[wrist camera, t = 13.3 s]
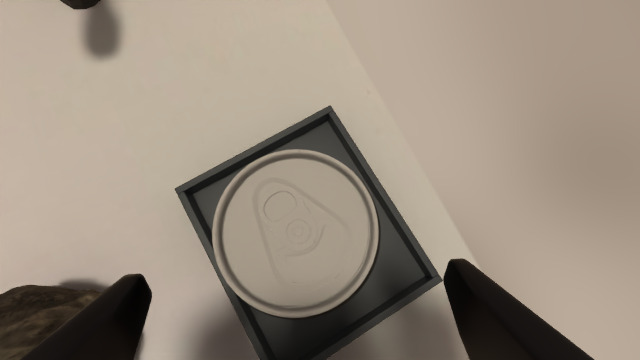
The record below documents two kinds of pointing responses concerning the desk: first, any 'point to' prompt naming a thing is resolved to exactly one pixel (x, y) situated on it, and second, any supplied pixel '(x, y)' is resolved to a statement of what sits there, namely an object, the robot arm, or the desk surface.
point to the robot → (80, 3)
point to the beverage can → (296, 234)
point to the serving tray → (380, 289)
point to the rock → (36, 315)
